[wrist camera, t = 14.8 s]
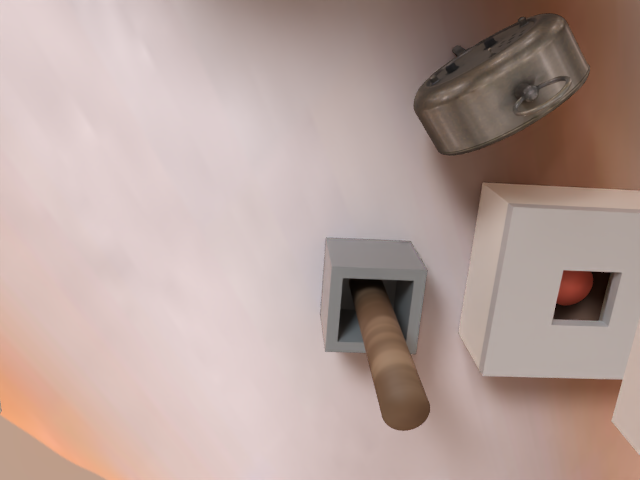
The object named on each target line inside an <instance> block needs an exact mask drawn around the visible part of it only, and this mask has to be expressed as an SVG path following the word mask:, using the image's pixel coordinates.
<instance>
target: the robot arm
mask: <svg viewBox="0 0 640 480" xmlns="http://www.w3.org/2000/svg"><path fill="white" fill-rule="evenodd" d="M1 411H2V410H1V403H0V413H1ZM612 422H613V424H614V425H615V426H616V427H617V428H618V430H619V431H620V432H621V433H622V435H623V436H624V437H625V438H626V439H627V441H628V442H629V443H630V444H631V446H632V447H633V448H634V449H635V450H636V452H637V453H638V454H639V455H640V318H639V322H638V326H637V329H636V333H635V337H634V340H633V344H632V347H631V351H630V355H629V358H628V362H627V366H626V369H625V373H624V377H623V380H622V384H621V388H620V391H619V395H618V399H617V402H616V406H615V410H614V413H613V417H612Z"/></svg>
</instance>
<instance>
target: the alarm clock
mask: <svg viewBox="0 0 640 480" xmlns="http://www.w3.org/2000/svg"><path fill="white" fill-rule="evenodd" d="M452 51H453V52H454V53H455V54H456V55H457V57H456V58H454V59H453V60H451V61H450V62H449V63H447V64H446V65H444V66H443V67H442V68H440V69H439V70H438V71H437V72H435V73H434V74H433V75H432V76H431V77H430V78H429V79H428V80H426V81H425V82H424V84H423V85H422V86H421V87H420V88H419V90H418V92H417V93H416V96H415V99H414V111H415V113H416V114H417V116H418V118H419V120H420V121H421V123H422V125H423V126H424V128H425V130H426V131H427V133H428V135H429V136H430V138H431V140H432V141H433V143H434V145H435V147H436V148H437V150H438V152H440V153H441V154H444V155H459V154H464V153H468V152H472V151H475V150H478V149H481V148H483V147H486V146H488V145H491V144H493V143H495V142H498V141H500V140H503V139H505V138H507V137H509V136H511V135H513V134H515V133H517V132H519V131H521V130H523V129H524V128H526V127H528V126H529V125H531V124H533V123H534V122H536V121H538V120H539V119H541V118H542V117H544V116H546V115H547V114H548V113H550V112H551V111H553V110H554V109H556V108H557V107H558V106H559V105H561V104H562V103H563V102H565V101H566V100H567V99H569V98H570V97H571V96H572V95H573V94H574V93H575V92H576V91H577V90H579V89H580V88H581V86H582V85H583V84H584V83H585V81H586V80H587V77H588V75H589V72H590V66H589V65H588V64H587V62H586V60H585V58H584V56H583V54H582V52H581V50H580V48H579V46H578V44H577V42H576V40H575V38H574V36H573V34H572V31H571V29H570V27H569V25H568V23H567V22H566V20H565V19H564V18H563V17H561V16H559V15H557V14H539V15H536V16H532V17H529V18H525V17H521V18H520V19H518V22H517V23H515V24H513V25H511V26H509V27H507V28H505V29H503V30H501V31H499V32H497V33H495V34H493V35H492V36H490V37H488V38H486V39H484V40H483V41H481V42H479V43H478V44H476V45H474V46H473V47H471V48H469V49H466V50H465V49H464V48H462V47H461V46H455V47H454V48H453V50H452Z"/></svg>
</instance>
